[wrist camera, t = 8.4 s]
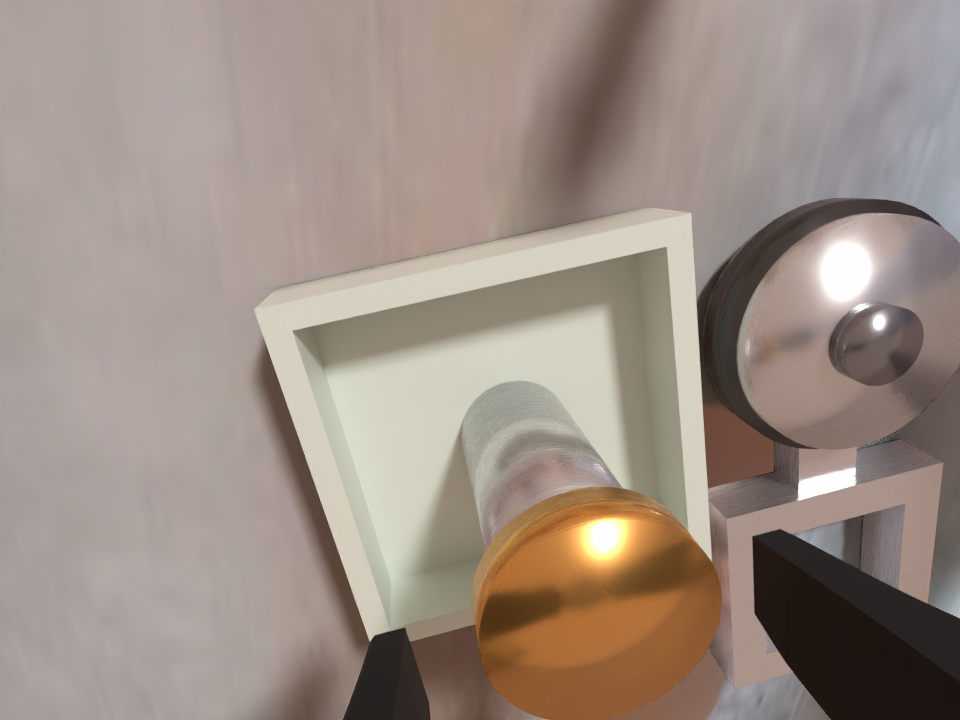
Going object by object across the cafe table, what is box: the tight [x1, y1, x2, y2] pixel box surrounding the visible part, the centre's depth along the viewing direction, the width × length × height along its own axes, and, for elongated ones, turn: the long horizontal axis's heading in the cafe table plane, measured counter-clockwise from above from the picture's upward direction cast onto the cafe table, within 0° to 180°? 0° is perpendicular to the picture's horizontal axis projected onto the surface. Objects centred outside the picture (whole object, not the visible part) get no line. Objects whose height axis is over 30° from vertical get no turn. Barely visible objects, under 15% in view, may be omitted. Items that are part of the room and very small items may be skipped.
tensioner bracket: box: [703, 198, 960, 689], centre depth 21 cm, size 9×20×4 cm, turn 11°
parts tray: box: [254, 207, 712, 642], centre depth 19 cm, size 13×13×3 cm
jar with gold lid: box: [461, 381, 722, 720], centre depth 16 cm, size 5×5×9 cm
